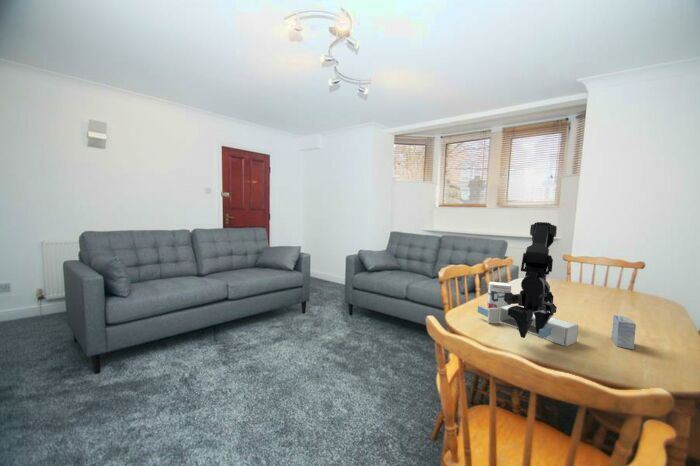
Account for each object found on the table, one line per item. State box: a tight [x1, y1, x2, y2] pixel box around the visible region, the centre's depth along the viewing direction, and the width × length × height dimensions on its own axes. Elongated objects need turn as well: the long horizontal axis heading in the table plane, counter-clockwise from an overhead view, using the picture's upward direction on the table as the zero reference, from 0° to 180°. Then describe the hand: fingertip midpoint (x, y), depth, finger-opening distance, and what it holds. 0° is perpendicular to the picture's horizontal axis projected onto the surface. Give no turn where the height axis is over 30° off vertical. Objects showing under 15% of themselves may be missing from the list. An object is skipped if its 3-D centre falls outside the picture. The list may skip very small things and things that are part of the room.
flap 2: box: [538, 323, 566, 346], centre depth 99 cm, size 7×5×6 cm
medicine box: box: [611, 314, 637, 350], centre depth 102 cm, size 8×4×9 cm, turn 148°
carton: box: [498, 304, 579, 347], centre depth 110 cm, size 7×24×6 cm, turn 30°
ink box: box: [487, 281, 512, 309], centre depth 135 cm, size 8×5×12 cm, turn 72°
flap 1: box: [477, 305, 500, 324], centre depth 120 cm, size 7×5×6 cm
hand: (530, 335), depth 99 cm, fingers open, 9 cm apart
